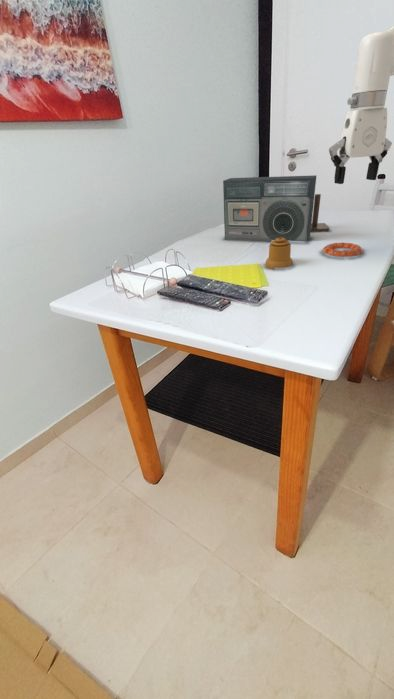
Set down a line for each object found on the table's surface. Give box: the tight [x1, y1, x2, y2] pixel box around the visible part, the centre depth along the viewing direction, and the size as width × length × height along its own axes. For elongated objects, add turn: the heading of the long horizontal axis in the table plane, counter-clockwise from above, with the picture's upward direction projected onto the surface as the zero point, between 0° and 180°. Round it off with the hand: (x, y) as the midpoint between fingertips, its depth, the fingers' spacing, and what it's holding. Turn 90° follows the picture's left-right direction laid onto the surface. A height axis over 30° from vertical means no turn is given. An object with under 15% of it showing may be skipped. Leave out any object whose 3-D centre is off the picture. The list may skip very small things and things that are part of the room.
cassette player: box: [222, 175, 317, 243], centre depth 115 cm, size 29×7×20 cm, turn 65°
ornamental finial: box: [265, 238, 294, 270], centre depth 94 cm, size 8×8×8 cm
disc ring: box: [322, 242, 364, 258], centre depth 101 cm, size 11×11×2 cm
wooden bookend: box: [311, 193, 330, 233], centre depth 124 cm, size 9×9×12 cm
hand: (355, 181), depth 90 cm, fingers open, 9 cm apart
